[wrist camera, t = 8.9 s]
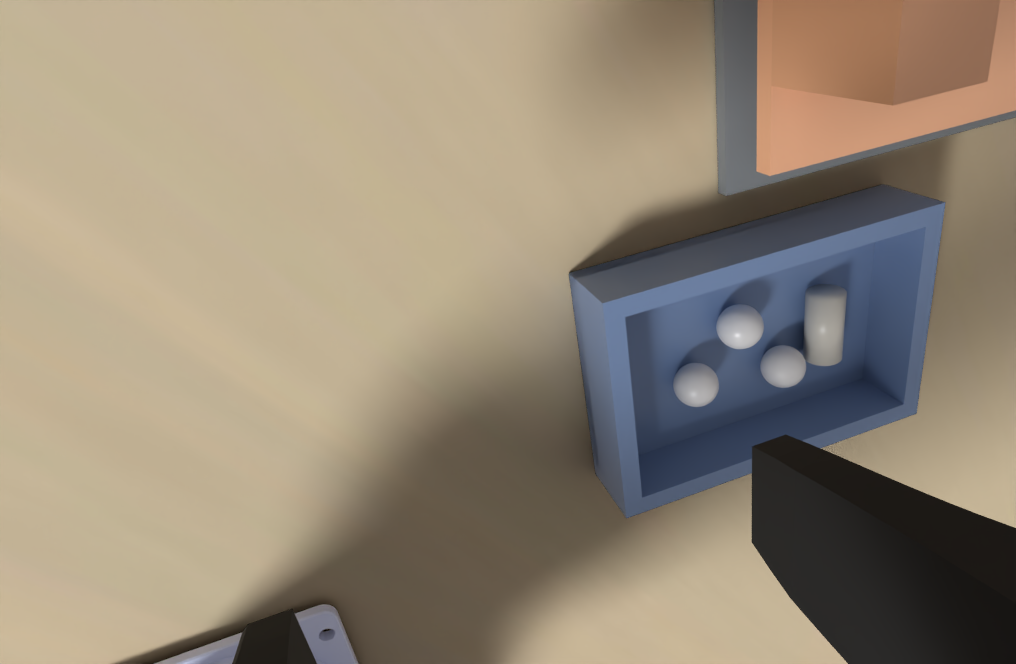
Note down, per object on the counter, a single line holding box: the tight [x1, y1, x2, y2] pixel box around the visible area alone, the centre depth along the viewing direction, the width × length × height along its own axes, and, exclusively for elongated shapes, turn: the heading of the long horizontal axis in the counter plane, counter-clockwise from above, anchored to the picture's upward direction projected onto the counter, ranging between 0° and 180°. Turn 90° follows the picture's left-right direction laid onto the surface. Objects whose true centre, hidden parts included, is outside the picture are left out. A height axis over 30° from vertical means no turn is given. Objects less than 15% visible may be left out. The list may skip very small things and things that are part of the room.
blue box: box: [569, 184, 945, 518], centre depth 22 cm, size 8×11×2 cm
